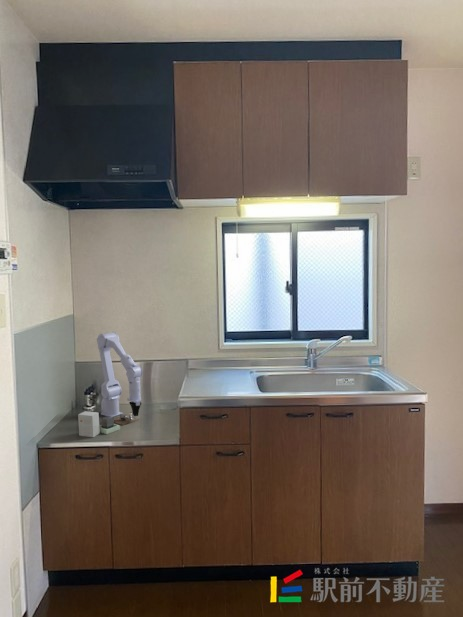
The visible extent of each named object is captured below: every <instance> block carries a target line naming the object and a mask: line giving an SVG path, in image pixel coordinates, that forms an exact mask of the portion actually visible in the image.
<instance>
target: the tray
mask: <svg viewBox="0 0 463 617" xmlns="http://www.w3.org/2000/svg"><path fill="white" fill-rule="evenodd" d="M99 428H100V434H104V435H109V434H112V433H115V432H118V431H120V430H121V425H119V424H115V423H114V427H112V428H109V429H104V428H102V424H99Z"/></svg>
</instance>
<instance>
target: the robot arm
mask: <svg viewBox="0 0 463 617" xmlns="http://www.w3.org/2000/svg"><path fill="white" fill-rule="evenodd" d="M96 342H97V348H98V351H99V357H100V361H101V362H100V363H101V367H102V368H101V369H102V373H103V378H104V382H103V383H102V384H101V385H100V386H101V388H100V389H101V393H100V394H101V397H102V400H101V401H100V405H101V406H100V407H101V413H100V415H101V416H104V417H107V416H110V417H113V418H114V417H117V416H120V415H124V413H123V412H121V411H120V397H121V395H122V393H123V390H122V389H123V388H122V387H121V384H120V381H119V380H117V379H116V377H115V372H114V366H113V362H112V356H111V349H113V350H114V352H115V353H116V354H117V356H118V357H119V358H120V359H119V361H120V363H121V365H122V366H123V368H124V369H125V371H126V372H125V375H126V377H127V381H128V390H129V391H128V393H129V397H128V398H127V399H126V400H127V401H129V402H128V403H129V405H130V407H131V411H132V412H131V413H132V416H133V417H137V416H139V414H140V413H139V412H140V408H141V406H142V402H141V401H142V396H141V395H142V394H141V392H142V391H141V388H142V387H141V377H142V376H143V372H144V371H143V369H142V367H141V365H139V364H137V363H136V362H135V361H134V360H133V358H132V356H131V355H130V354H127V353H126V351H125V349H124V348H123V345H122V344H121V342H120V336H119V334H118V333H117V331H112V332H107V333H100V334H99V335H97V338H96Z"/></svg>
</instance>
